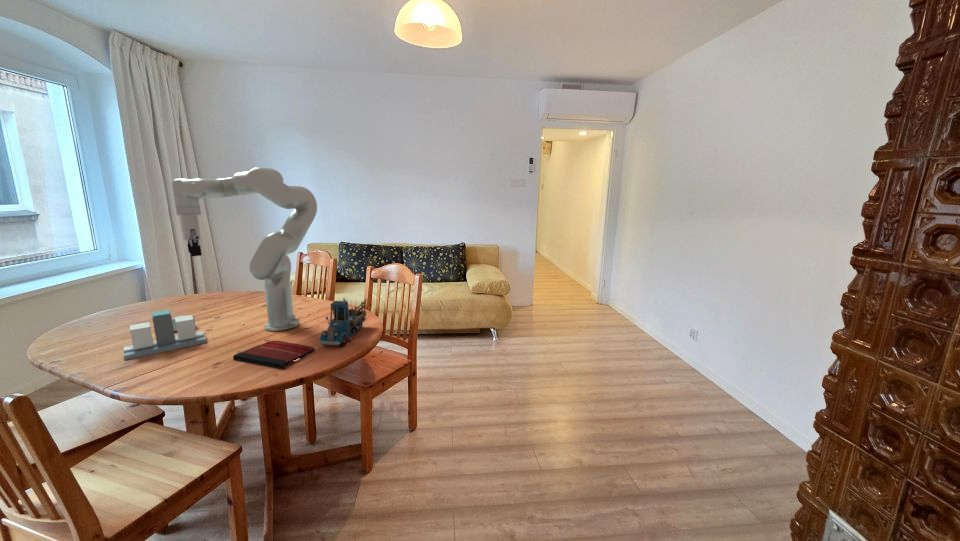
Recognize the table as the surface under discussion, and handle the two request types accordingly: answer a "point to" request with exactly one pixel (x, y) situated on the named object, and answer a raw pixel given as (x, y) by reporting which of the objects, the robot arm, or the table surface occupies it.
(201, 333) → the din rail
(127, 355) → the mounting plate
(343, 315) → the toy truck
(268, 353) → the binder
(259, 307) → the table surface
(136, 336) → the mounted modules
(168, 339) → the block
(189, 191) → the robot arm
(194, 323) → the power supply
